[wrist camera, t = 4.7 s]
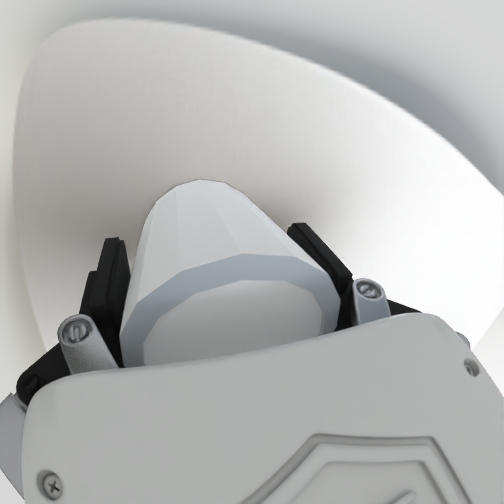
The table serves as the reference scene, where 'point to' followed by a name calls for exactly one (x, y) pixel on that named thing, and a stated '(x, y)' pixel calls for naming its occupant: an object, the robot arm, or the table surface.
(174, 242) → the white cylinder
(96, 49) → the table surface
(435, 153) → the table surface
